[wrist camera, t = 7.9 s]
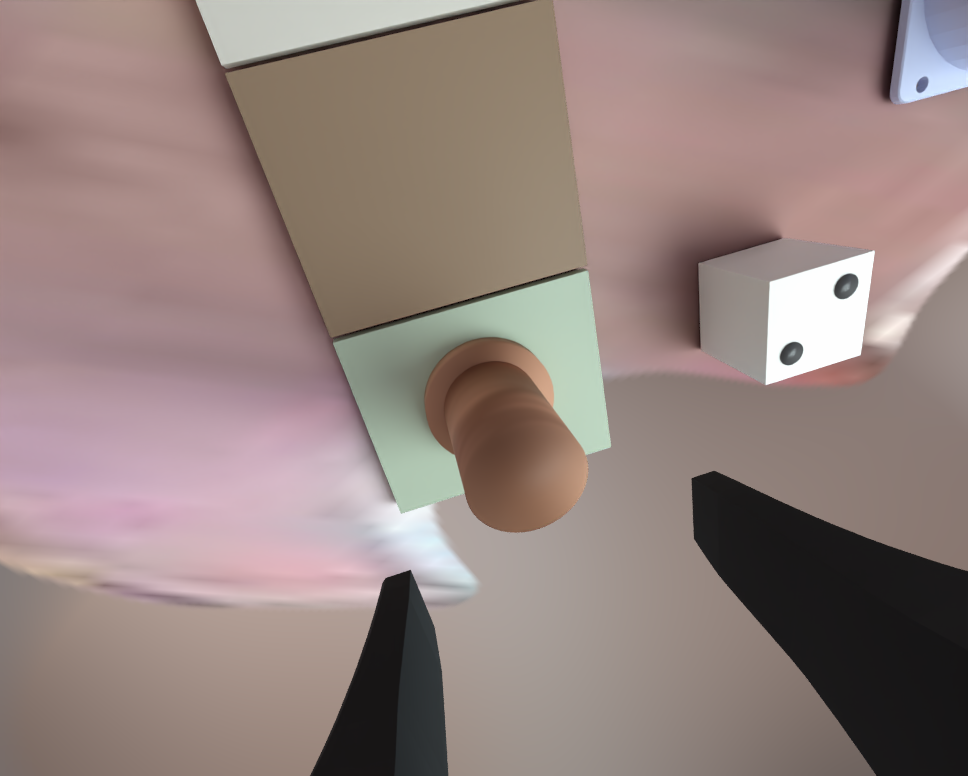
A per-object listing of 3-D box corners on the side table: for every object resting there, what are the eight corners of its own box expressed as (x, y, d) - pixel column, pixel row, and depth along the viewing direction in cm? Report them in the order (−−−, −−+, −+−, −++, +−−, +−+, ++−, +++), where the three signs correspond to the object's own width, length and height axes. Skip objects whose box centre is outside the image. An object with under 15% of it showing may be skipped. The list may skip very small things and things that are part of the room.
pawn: (535, 321, 18) (599, 380, 13) (556, 431, 21) (618, 519, 15) (407, 358, 18) (418, 435, 13) (443, 466, 20) (465, 570, 15)
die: (785, 237, 20) (875, 250, 16) (780, 325, 21) (861, 355, 18) (698, 263, 19) (770, 281, 16) (700, 350, 21) (766, 385, 18)
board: (486, -442, 11) (491, -468, 11) (606, 441, 22) (611, 446, 22) (50, -376, 10) (35, -401, 10) (400, 506, 21) (401, 513, 21)
